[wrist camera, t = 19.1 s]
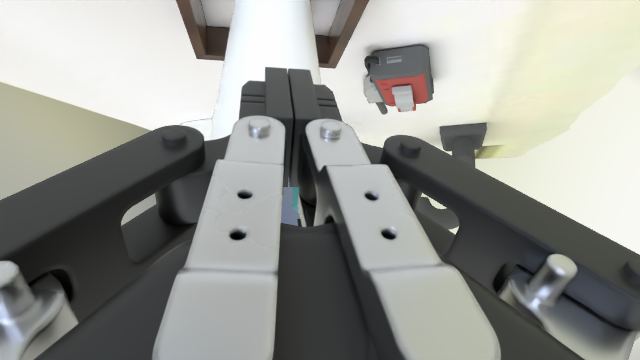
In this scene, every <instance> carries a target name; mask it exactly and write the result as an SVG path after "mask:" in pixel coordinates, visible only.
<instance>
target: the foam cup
mask: <svg viewBox="0 0 640 360" xmlns="http://www.w3.org/2000/svg"><path fill="white" fill-rule="evenodd" d="M265 67H276V68H287V73H288V68H291V69H306V70H310V72H311V76H312V80H313V84H317V85H321V79H320V71H319V63H318V56H317V48H316V40H315V32H314V25H313V17H312V9H311V3H310V0H235V2H234V7H233V13H232V19H231V25H230V31H229V36H228V42H227V48H226V54H225V59H224V65H223V71H222V77H221V82H220V88H219V94H218V100H217V106H216V109H215V110H214V113H213V115H212V131H211V140H215V139H220V138H223V137H226V136H228V135H230V134H231V132H232V128H233V125H234V123H235V122H236V121H238V120H239V110H240V100H241V90H242V86H243V85H244V84H245V83H247V82H248V81H249V80H252V81H265Z"/></svg>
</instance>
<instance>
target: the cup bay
mask: <svg viewBox="0 0 640 360" xmlns="http://www.w3.org/2000/svg"><path fill="white" fill-rule="evenodd" d="M176 1H177V4H178V7H179V10H180V13H181V16H182V18H183V21H184V24H185V27H186V30H187V32H188V35H189V38H190V41H191V44H192V47H193V49H194V52H195V55H196V58H197V59H206V60H221V61H224V59H225V54H226V48H227V42H228V36H229V31H230V28H218V27H207V25H206V21H205V17H204V13H203V9H202V5H201V1H200V0H176ZM368 1H369V0H341V2H340V5H339V8H338V11H337V13H336V16H335V19H334V21H333V24H332V27H331V29H330V32H329V35H328V36H316V35H315V40H316V48H317V56H318V63H319V67H322V68H336V66H337V64H338V62H339V60H340V58H341V56H342V54H343V52H344V50H345V48H346V46H347V44H348V42H349V40H350V38H351V36H352V34H353V32H354V30H355V28H356V26H357V24H358V22H359V20H360V18H361V16H362V14H363V12H364V10H365V8H366V5H367V3H368Z"/></svg>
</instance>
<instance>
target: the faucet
mask: <svg viewBox="0 0 640 360" xmlns="http://www.w3.org/2000/svg"><path fill="white" fill-rule="evenodd" d="M486 129H487V127H486V123H480V124H468V125H456V126H443V127H440V135H441V140H442V145H443V149H444V150H445V151H452V156H453V157H455V158H457V159H459V160H461V161H463V162H465V163H467V164H468V165H470V166H472V167H474V168H475V152H474V150H476V149H480V148H481V147H482V144H483V140H484V136H485V133H486ZM416 210H418V211H419V212H421V213H422V214H424V215H426V216H427V217H429V218H430V219H432V220H433V221H435V222H436V223H438V224H439V225H441V226H443V227H444V228H446V229H447V230H448V229H453V228H456V227H458V226H459V220H458V218H457V216H456V215H455V213H454V212H453V211H451V210H450V209H448V208H446V209H437V208H435V207H434V206H432V204H431V203H430V201H429V199H428V198H427V197H420V200H419V203H418V206H417V208H416Z"/></svg>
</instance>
